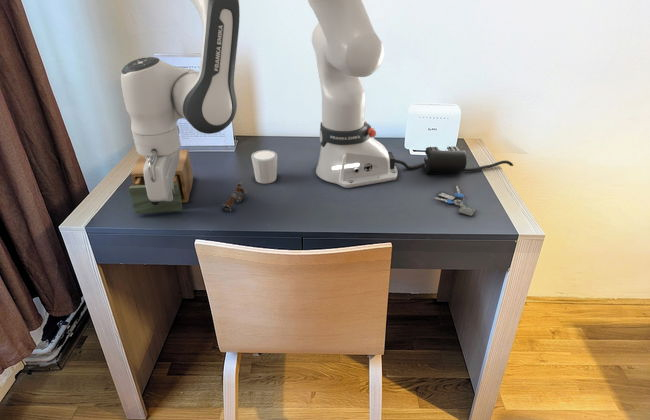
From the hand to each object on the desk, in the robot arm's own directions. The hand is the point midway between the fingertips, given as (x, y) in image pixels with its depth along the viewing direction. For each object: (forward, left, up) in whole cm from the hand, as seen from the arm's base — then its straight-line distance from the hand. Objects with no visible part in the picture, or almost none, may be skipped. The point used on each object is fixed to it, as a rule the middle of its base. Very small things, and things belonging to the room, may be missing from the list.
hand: (170, 197), depth 97 cm
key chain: (-67, +2, -6) cm, 67 cm away
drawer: (+4, -7, -5) cm, 9 cm away
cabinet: (+4, -13, -6) cm, 15 cm away
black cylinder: (-71, -14, -6) cm, 72 cm away
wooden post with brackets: (-14, -5, -6) cm, 16 cm away
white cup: (-22, -17, -6) cm, 28 cm away
